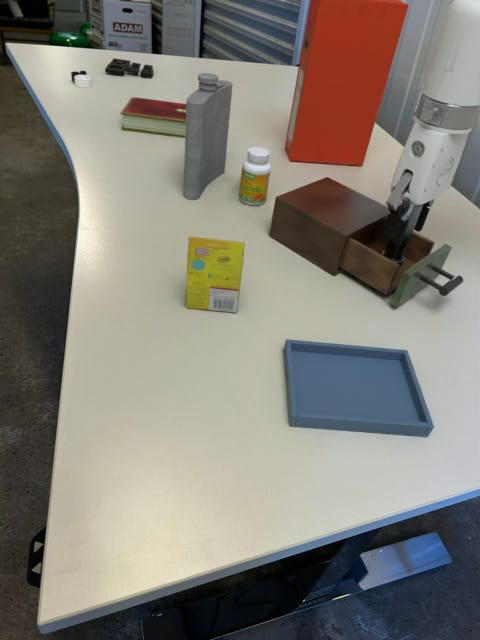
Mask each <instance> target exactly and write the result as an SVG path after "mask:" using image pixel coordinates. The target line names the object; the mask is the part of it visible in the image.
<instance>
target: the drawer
mask: <svg viewBox="0 0 480 640" xmlns="http://www.w3.org/2000/svg"><path fill="white" fill-rule="evenodd" d="M386 220H387V219H385V220H383V221H381V222H379V223H377V224H375V225H373V226H371V227H370V228H368V229H366V230H364V231H362V232H360V233H358V234H356V235H354V236H352V237H351V238H349V239H348V240H347V243H346V246H345V250H344V253H343V256H342V260H341V263H340V266H339V267H341V268H342V269H344V271H345V272H347V273H349V274H350V275H352V276H354V277H355V278H357V279H359V280H360V281H362V282H363V283H365V284H366V285H369V286H371V287H372V288H373V289H375V290H377V291H379V292H380V293H382V294H383V295H385V296H387V295H389V294H390V293H391V292H393V291H394V290H395V291H394V293H393V296H392V298H391V301H390V304H391V305H393V306H395V307H396V308H398V307H400V306H401V305H402V304H404V302H406V301H407V300H409V299H410V298H412V297H413V296H414V295H415V294H417V293H418V292H419V291H421V290H422V289H423V288H425V287H427V286H430V287H432V288H434V289H436V290H438V294H439V295H440V296H442V297H447V296H449V294H450V293H451V292H453V291H454V290H455V289H457V288H458V287H459V286H460V285H462V284H463V282H464V277H463V276H462V275H459V274H456V275H454V274H451V273H449V272H448V271H446V270H444V269H443V268H444V266H445V263H446V261H447V259H448V257H449V255H450V252H451V251H452V249H453V247H452V246H451V245H449V244H448V243H444V244H442V245H441V246H440V247H438V248H437V249H435V250H434V251H433V248H434V246H435V244H436V241H434V240H431V239H429V238H428V237H426V236H424V235H422V234H420V233H419V232H417V231H415V230H413V233H412V236H411V238H410V241H409V243H408V246H407V249H406V251H405V254H404V256H405V261H404V264H403V265H402V266H400V265H399V264H397V263H396V262H394V261H392V260H390V259H388V258H387V257H385V256H383V255H381V253H382V251H383V250H385V249H386V246H387V243H388V239H386V238H384V237H383V236H382V232H383V229H384V226H385V223H386ZM439 275H441V276H442V277H444V278H446V279H448V281H447V282H445V284H443V285H441V284H440V283H438V282H436V281H434V280H436V279H437V278H438V277H439Z"/></svg>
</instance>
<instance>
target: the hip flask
mask: <svg viewBox="0 0 480 640" xmlns="http://www.w3.org/2000/svg"><path fill="white" fill-rule="evenodd" d="M197 81H198V89H196V90H195V91H193V92H192V93H191V94H190V95H189V96H188V97H187V98H186V103H185V104H186V131H185V138H184V164H183V165H184V166H183V190H182V191H183V193H182V195H183V196H182V197H184V198H185V199H186V200H191V201H195V200H198V199H200V197H201V195H202V193H203V192H204V190H205V189H206V188H207V187H208V186H209V185H210V184H211V183H212V182H214V180H216V179H217V178H219V177H220V176H222V175H223V174H225V171H226V170H225V169H226V162H227V161H226V160H227V149H228V138H229V128H230V118H231V117H230V116H231V106H232V95H233V82H231V81H229V80H224V79H220V80H219V76H218V75H217V74H214V73H209V72H201V73H199V74H197Z"/></svg>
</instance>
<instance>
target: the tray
mask: <svg viewBox="0 0 480 640" xmlns="http://www.w3.org/2000/svg"><path fill="white" fill-rule="evenodd" d="M283 363H284V376H285V377H284V378H285V386H286V387H285V388H286V402H287V414H288V416H287V417H288V426H289V427H294V428H307V429H317V430H319V429H320V430H331V431H343V432H356V433H357V432H358V433H370V434H382V435H395V436H396V435H397V436H408V437H409V436H410V437H419V438H420V437H423V438H429V436H430V435H431V433H432V431H433V429H434V428H435V425H434V423H433V419H432V417H431V413H430V411H429V408H428V405H427V402H426V400H425V397H424V394H423V391H422V388H421V385H420V383H419V382H420V381H419V379H418V376H417V374H416V370H415V368H414V365H413V362H412V359H411V357H410V354H409V350H408V349H399V348H398V349H397V348H387V347H374V346H367V345H365V346H364V345H354V344H344V343H343V344H342V343H331V342H320V341H309V340H297V339H288V338H287V339H285V342H284V345H283Z"/></svg>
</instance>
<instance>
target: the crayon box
mask: <svg viewBox="0 0 480 640" xmlns="http://www.w3.org/2000/svg"><path fill="white" fill-rule="evenodd" d="M187 244H188V245H187V259H186V260H187V261H186V287H185V288H186V289H185V290H186V291H185V293H186V294H185V296H186V297H185V308H186V309H187V310H189V309H190V310H191V309H194V310H195V309H196V310H204V311H214V312H223V313H224V312H225V313H232V314H237V313H238V311H239V309H238V308H239V301H240V291H241V283H242V276H243V275H242V273H243V267H244V258H245V242H243V241H234V240H225V239H217V238H216V239H215V238H208V237H207V238H206V237H198V236H197V237H196V236H188V243H187Z"/></svg>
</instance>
